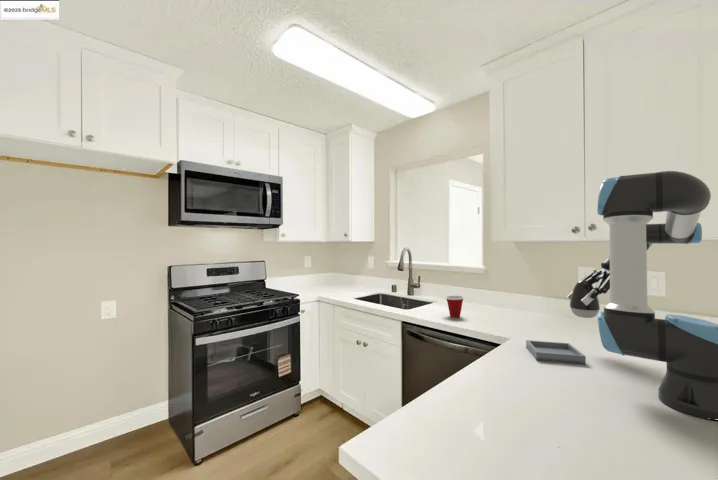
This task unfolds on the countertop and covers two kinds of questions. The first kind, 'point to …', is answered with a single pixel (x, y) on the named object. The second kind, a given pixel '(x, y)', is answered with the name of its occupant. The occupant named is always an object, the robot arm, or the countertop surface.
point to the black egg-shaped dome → (578, 306)
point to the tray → (555, 352)
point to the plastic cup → (454, 305)
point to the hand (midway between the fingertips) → (576, 300)
